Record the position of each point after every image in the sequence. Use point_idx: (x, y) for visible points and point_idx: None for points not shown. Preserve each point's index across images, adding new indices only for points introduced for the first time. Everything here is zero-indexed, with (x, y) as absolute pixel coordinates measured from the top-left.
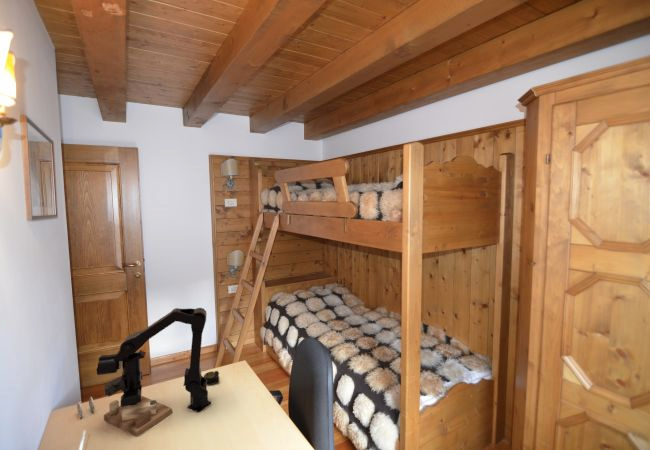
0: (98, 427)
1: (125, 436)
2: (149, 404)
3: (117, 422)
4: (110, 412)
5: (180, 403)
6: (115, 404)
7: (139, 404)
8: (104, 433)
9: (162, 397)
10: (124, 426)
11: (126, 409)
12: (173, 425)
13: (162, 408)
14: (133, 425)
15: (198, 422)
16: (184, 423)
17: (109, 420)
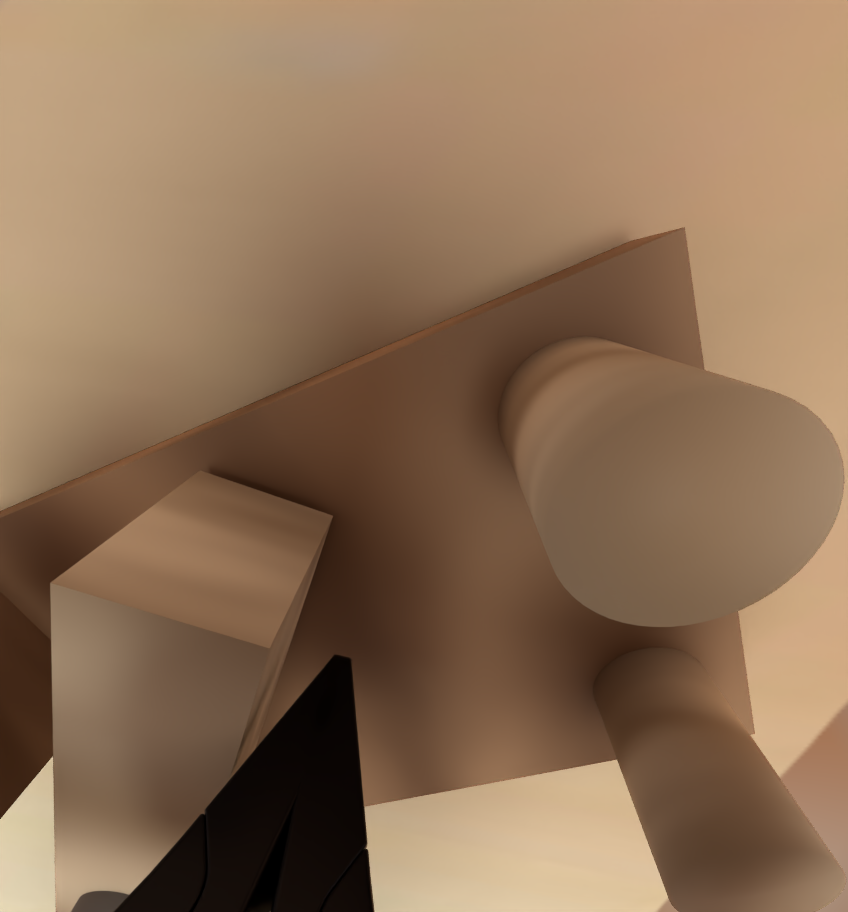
0: (469, 129)
1: (29, 432)
2: (109, 887)
3: (254, 408)
4: (564, 355)
5: None
6: (546, 535)
7: (190, 823)
8: (228, 205)
9: (541, 791)
10: (111, 468)
11: (116, 667)
12: None
13: None
14: (43, 559)
15: (13, 833)
16: (37, 789)
17: (470, 312)
